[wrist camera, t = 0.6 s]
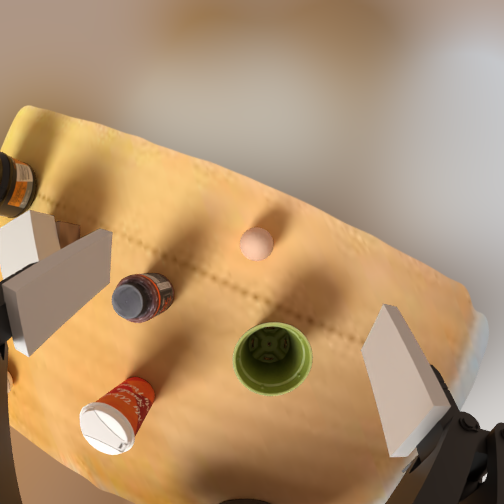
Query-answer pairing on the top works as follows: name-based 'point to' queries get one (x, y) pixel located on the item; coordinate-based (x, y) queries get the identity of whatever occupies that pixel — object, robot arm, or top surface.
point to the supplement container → (15, 186)
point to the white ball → (9, 381)
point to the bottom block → (67, 233)
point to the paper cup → (117, 416)
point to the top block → (27, 241)
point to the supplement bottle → (142, 296)
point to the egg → (256, 244)
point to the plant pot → (277, 369)
